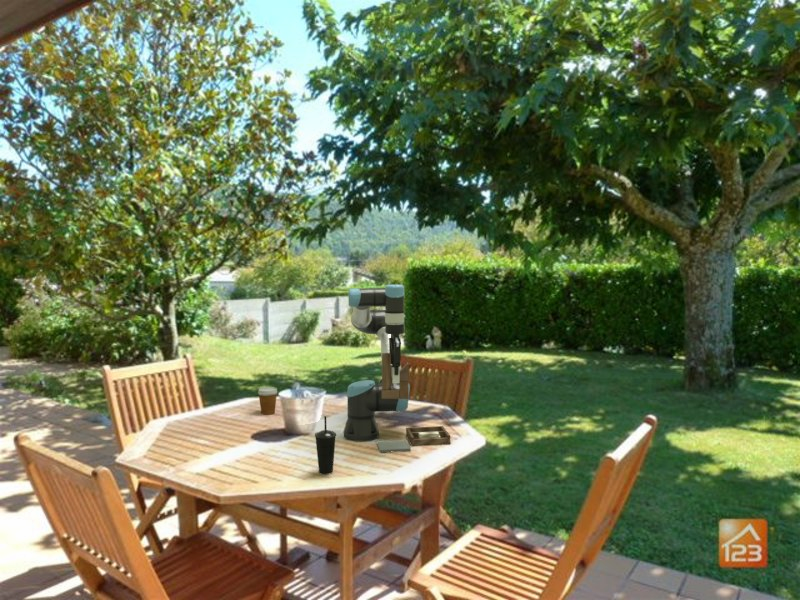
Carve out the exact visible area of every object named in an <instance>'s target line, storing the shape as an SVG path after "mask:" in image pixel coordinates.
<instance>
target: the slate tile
mask: <svg viewBox="0 0 800 600" xmlns="http://www.w3.org/2000/svg"><path fill="white" fill-rule="evenodd" d="M376 445H377V448H378V447H379V448H378V450H379V453H380V452H383V453H392V452H391V451H402V452H411V451H410V450H411V449H412V448H411V447H410V445H409V442H408V441H407V440H406V439H401V440H400V439H399V440H398V439H397V440H382V441H380V440H378V441H376Z"/></svg>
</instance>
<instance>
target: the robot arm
mask: <svg viewBox="0 0 800 600" xmlns="http://www.w3.org/2000/svg"><path fill="white" fill-rule="evenodd" d="M384 287H385V288H381V287H380V288H360V287H359V288H358V287H356V288H350V289H348V292H347V294H348V298H347V299H348V306H349V307H351V308H352V312H351V315H350V322H351V324H352V326H353V327H354V328H355V329H356V330H357V331H359V332H360V333H363V334H366V335H376V336H377V338H378V340H379V341H380V353H381V354H380V356H381V357H380V359H382V354H383V353H390V354H391V379H392V381H391V388H396V389H399V383H400V370H401V369H402V362H401V359H402V358H401V355H402V354H401V353H402V352H401V348H402V341H401V337H402V335H403V334H405V331H406V330H405V327H406V326H405V318H406V314H405V286H404V284H387V285H385V286H384ZM373 307H375V308H377V307H379V308H380V307H385V309H371V308H373ZM410 386H411V385H410V384H409V389H410V388H411V387H410ZM381 391H382V378H381V379H380V380H379V382H378V383H377V384H376V382H375V380H371V379H370V380H368V379H366V380H365V379H364V380H359V381H355V382H352V383H350V384H349V385H348V386H347V394H346V397H347V411H346V413H347V417H346V418H347V419H346V422H345V426H344V429H343V438H344V439H346V440H347V441H353V442H366V441H367V442H368V441H373V440H375V439H378V438H379V436H380V430H379V427H378V424H377V421H376V412H378V413H381V412H383V413H384V412H385V413H386V412H405V411H406V410H408V408H409V399H410V397H409V398H408V399H400V398H399V399H382V393H381Z"/></svg>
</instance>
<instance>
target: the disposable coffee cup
mask: <svg viewBox="0 0 800 600" xmlns="http://www.w3.org/2000/svg"><path fill="white" fill-rule="evenodd" d="M257 394H258V397H259V398H258V399H259V406H260V413H261V415H264V416H270V415H275V413H276V405H277V397H278V396H277V395H278V388H277V387H272V386H271V387H270V386H269V387H268V386H267V387H262V388H259V389H258V391H257Z"/></svg>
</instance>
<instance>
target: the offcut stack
mask: <svg viewBox="0 0 800 600" xmlns="http://www.w3.org/2000/svg"><path fill="white" fill-rule="evenodd" d="M418 436H419V439H427V438H441V437H440V435H439V433H438V432H418Z"/></svg>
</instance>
